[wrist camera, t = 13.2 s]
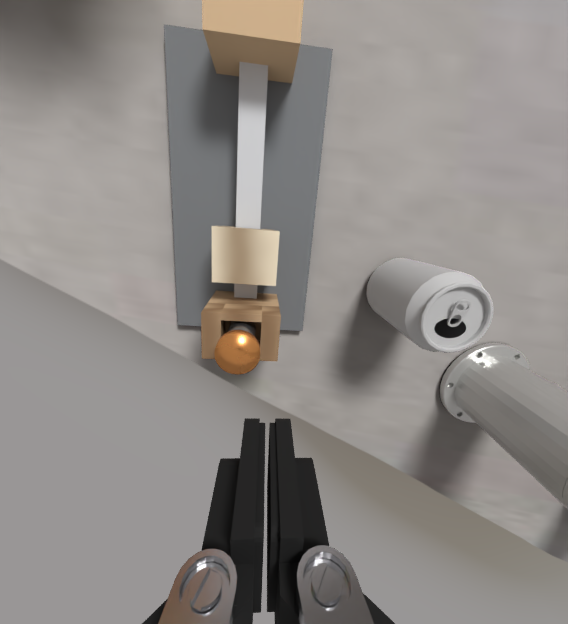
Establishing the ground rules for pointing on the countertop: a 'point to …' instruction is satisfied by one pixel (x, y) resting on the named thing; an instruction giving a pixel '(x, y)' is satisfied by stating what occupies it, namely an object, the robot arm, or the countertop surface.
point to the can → (431, 304)
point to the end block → (241, 309)
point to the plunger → (238, 348)
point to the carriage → (244, 255)
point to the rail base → (219, 169)
